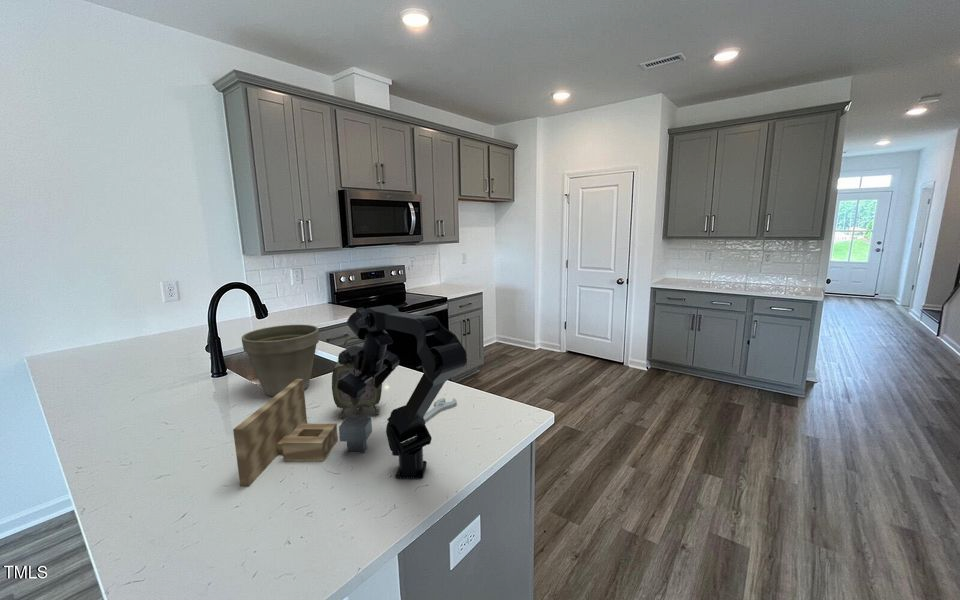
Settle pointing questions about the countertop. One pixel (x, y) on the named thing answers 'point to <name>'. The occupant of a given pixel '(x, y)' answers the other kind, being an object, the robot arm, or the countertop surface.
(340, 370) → the tabletop clock
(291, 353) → the plant pot
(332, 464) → the countertop surface
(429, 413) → the adjustable wrench
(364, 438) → the grey rectangular block
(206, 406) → the countertop surface
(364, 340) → the robot arm
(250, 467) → the wooden desk organizer
